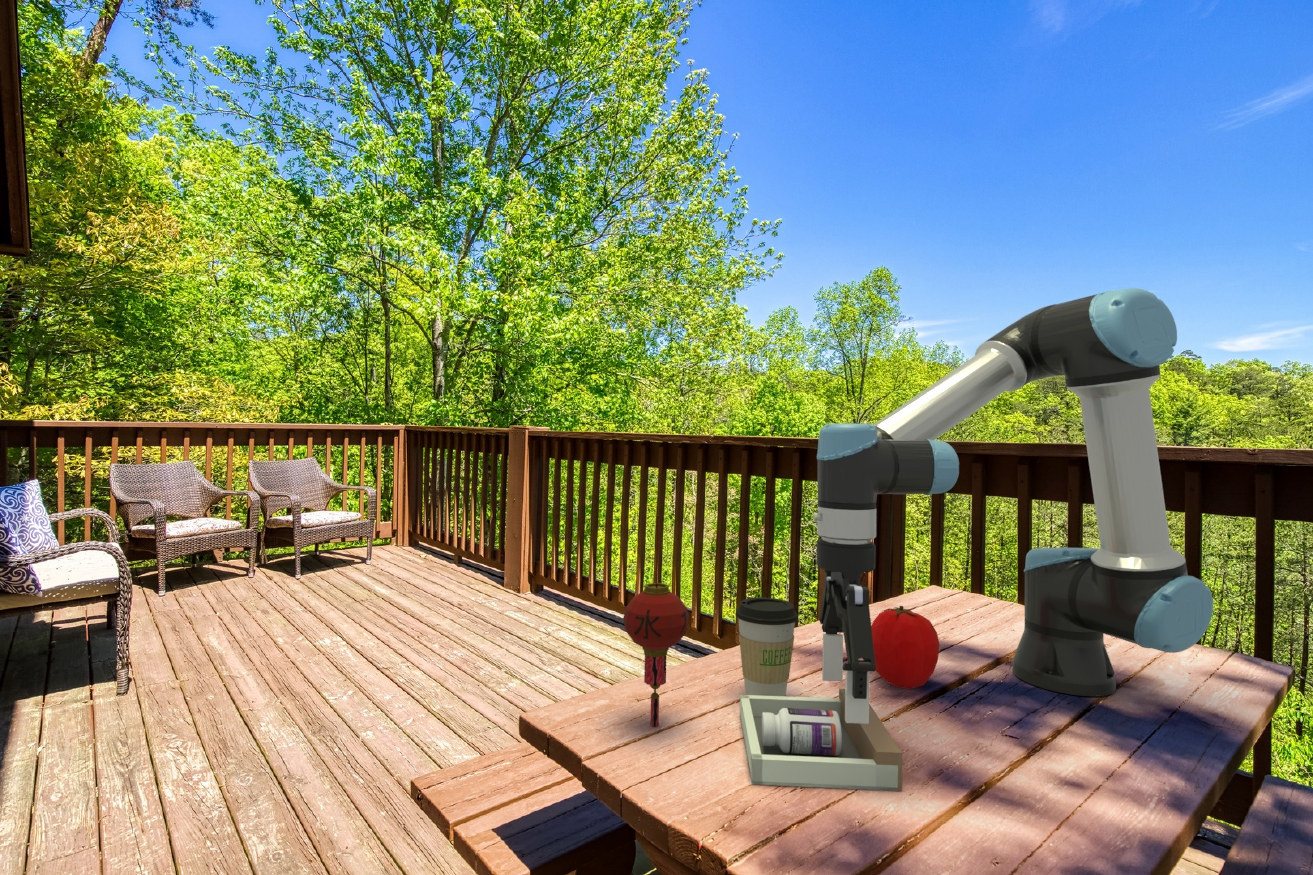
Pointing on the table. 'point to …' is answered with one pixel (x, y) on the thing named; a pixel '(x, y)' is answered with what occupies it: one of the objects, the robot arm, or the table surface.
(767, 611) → the coffee cup
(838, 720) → the pill bottle
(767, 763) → the tray
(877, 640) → the tomato
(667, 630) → the lantern
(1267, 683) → the table surface
